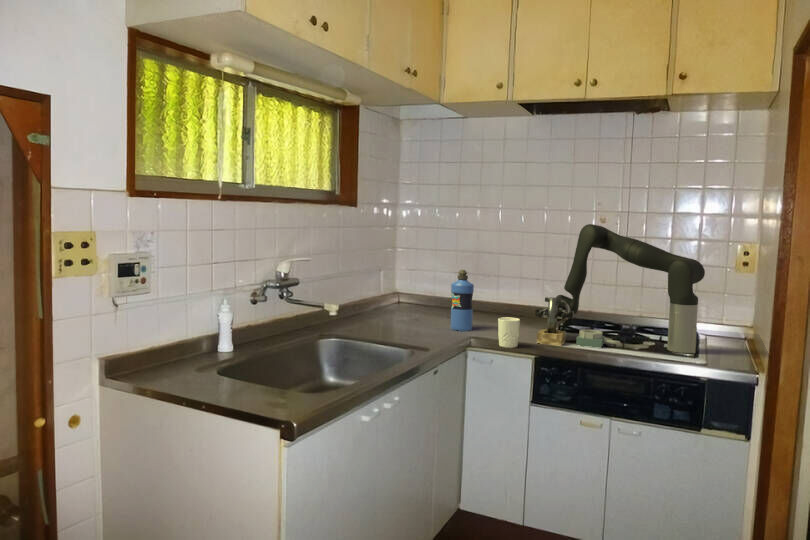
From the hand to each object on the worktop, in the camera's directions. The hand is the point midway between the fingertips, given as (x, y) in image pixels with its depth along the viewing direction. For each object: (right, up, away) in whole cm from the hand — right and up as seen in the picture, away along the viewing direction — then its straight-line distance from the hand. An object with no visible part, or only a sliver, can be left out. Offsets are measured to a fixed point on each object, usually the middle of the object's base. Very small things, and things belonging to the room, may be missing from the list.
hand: (551, 316), depth 228 cm
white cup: (-17, -11, -5) cm, 21 cm away
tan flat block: (+1, -10, +3) cm, 11 cm away
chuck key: (+1, -9, +3) cm, 10 cm away
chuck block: (+17, -11, -2) cm, 21 cm away
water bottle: (-31, -8, +27) cm, 42 cm away
